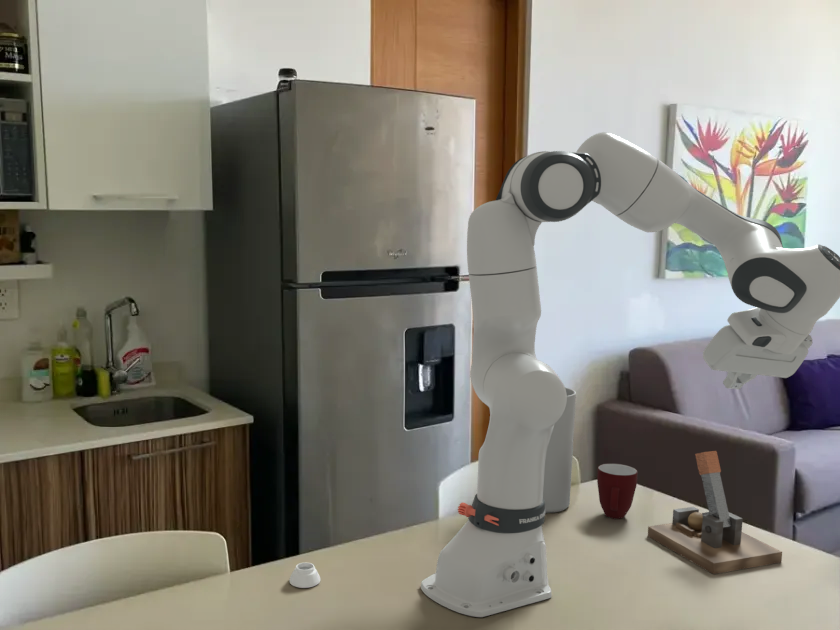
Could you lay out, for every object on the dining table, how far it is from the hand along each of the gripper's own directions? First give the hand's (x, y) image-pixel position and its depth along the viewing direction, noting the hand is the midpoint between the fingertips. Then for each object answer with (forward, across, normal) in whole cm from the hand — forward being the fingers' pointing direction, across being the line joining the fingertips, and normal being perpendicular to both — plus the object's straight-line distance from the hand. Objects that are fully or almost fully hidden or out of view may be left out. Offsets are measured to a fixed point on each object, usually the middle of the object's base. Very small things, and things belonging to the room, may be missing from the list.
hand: (730, 386), depth 147 cm
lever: (+22, -5, +15) cm, 27 cm away
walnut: (+28, -5, +11) cm, 31 cm away
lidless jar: (+44, +70, +10) cm, 83 cm away
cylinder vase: (+48, +12, -10) cm, 50 cm away
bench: (+28, -5, +16) cm, 32 cm away
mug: (+40, +2, 0) cm, 40 cm away
